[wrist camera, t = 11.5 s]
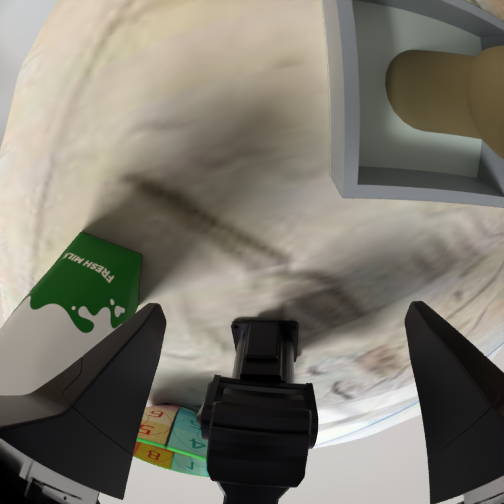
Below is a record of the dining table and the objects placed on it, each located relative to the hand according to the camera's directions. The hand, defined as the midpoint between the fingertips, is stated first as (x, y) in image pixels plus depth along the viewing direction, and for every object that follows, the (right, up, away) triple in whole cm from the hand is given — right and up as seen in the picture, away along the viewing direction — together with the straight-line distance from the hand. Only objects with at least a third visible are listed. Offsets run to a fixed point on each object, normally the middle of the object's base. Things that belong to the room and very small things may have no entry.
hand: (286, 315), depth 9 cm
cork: (+10, +13, +4) cm, 17 cm away
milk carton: (-15, 0, +16) cm, 22 cm away
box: (+10, +13, +5) cm, 18 cm away
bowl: (-14, -27, +33) cm, 45 cm away
